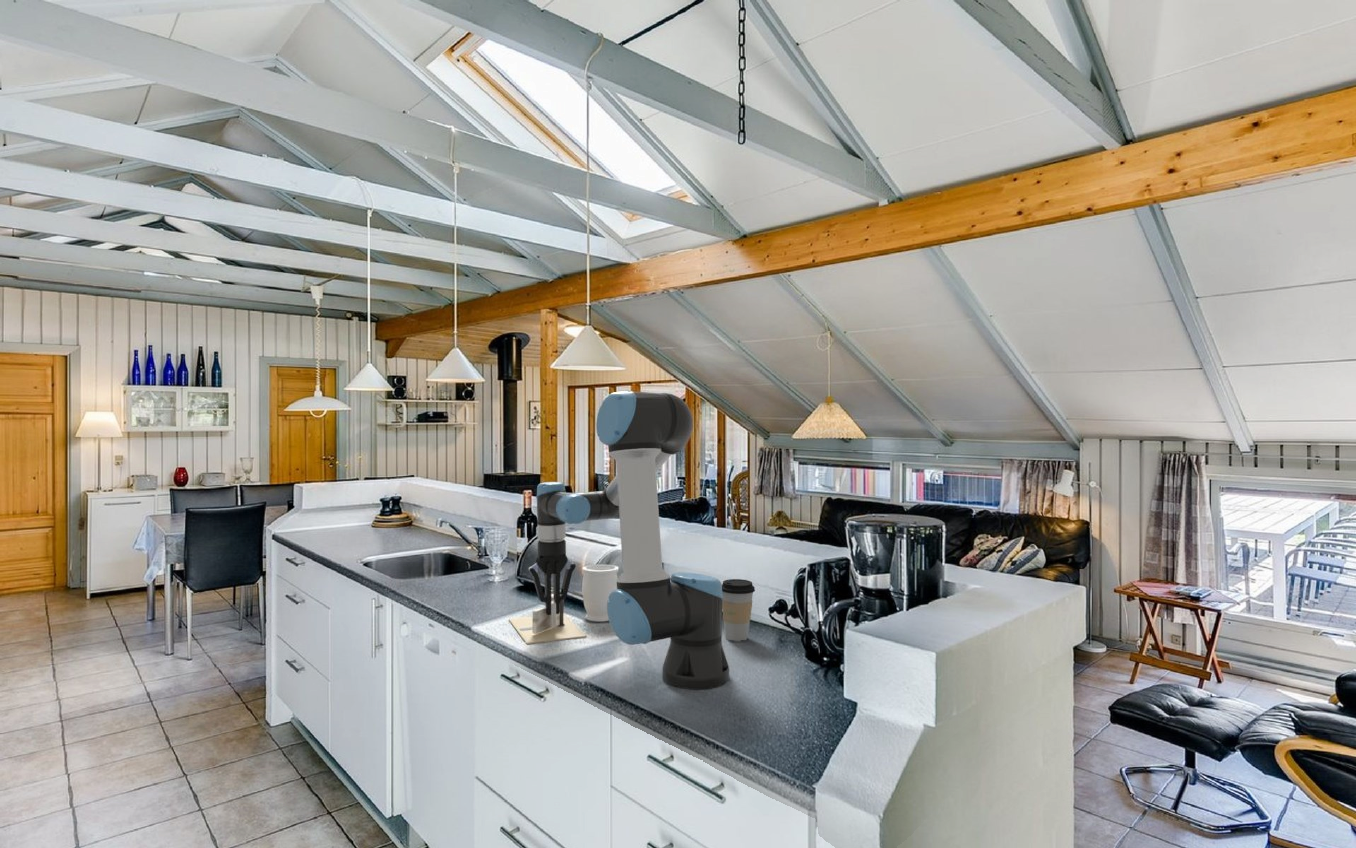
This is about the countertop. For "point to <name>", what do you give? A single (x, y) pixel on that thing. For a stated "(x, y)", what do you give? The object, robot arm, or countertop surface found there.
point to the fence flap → (546, 619)
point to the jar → (598, 590)
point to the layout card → (546, 631)
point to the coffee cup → (737, 608)
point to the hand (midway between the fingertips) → (552, 626)
